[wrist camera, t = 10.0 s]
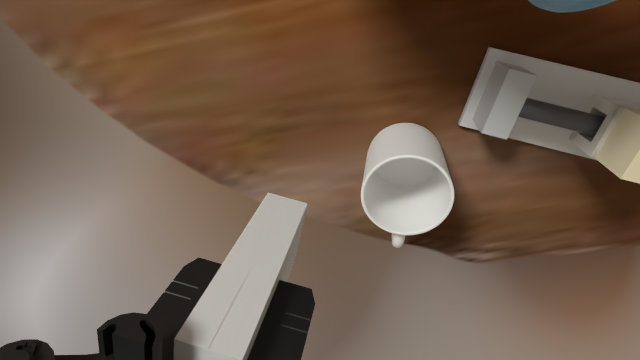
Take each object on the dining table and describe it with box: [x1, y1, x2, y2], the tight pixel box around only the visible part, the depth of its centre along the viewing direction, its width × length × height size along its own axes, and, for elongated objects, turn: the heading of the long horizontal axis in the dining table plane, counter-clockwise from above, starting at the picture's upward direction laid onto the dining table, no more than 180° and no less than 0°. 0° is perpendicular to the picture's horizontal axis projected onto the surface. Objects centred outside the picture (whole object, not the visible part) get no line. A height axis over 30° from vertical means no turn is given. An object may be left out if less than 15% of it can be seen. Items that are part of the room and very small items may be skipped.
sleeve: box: [569, 94, 640, 184], centre depth 32 cm, size 4×5×9 cm
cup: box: [361, 123, 454, 248], centre depth 39 cm, size 8×12×10 cm
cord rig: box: [458, 47, 640, 160], centre depth 35 cm, size 20×8×6 cm, turn 78°
